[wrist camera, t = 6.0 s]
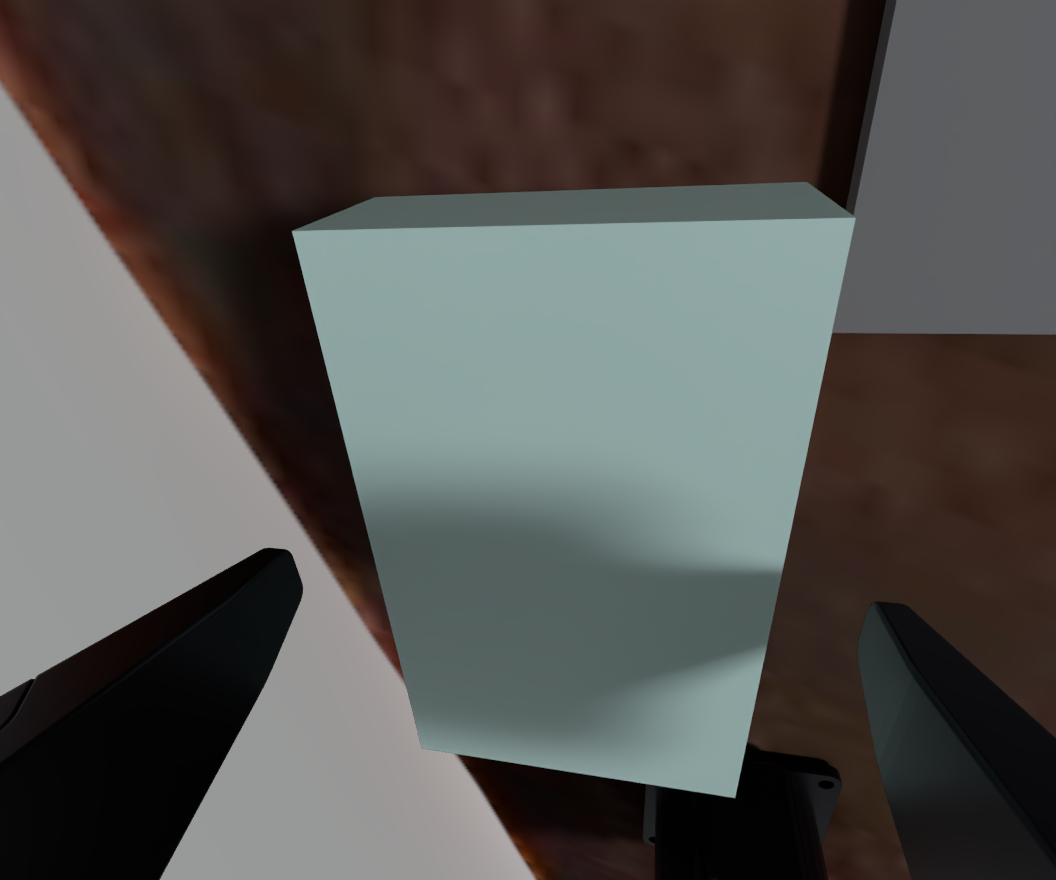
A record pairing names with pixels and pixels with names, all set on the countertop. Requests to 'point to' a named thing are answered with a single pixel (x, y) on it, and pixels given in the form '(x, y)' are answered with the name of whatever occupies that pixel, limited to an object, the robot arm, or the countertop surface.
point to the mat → (956, 173)
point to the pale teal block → (581, 455)
